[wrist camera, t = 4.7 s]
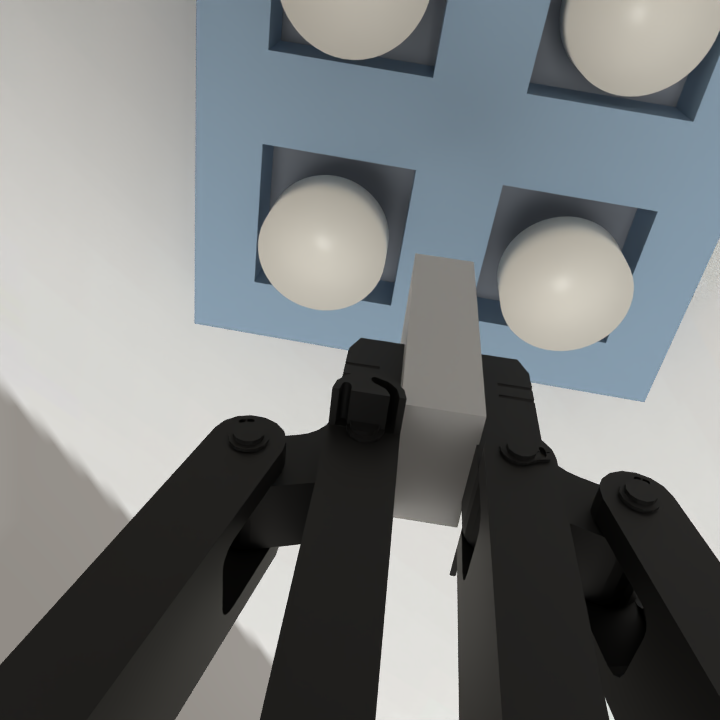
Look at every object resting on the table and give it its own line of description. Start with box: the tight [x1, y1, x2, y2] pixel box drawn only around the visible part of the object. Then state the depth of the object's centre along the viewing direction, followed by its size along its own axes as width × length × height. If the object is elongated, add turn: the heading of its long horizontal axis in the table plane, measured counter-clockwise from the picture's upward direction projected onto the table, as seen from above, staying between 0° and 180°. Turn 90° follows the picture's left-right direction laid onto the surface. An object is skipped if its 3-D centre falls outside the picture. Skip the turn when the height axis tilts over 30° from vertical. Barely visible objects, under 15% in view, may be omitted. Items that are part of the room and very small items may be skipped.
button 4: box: [560, 0, 720, 97], centre depth 25 cm, size 5×5×3 cm
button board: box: [195, 0, 720, 402], centre depth 29 cm, size 22×22×3 cm
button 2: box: [497, 216, 634, 351], centre depth 29 cm, size 5×5×3 cm
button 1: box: [258, 175, 389, 310], centre depth 29 cm, size 5×5×3 cm
